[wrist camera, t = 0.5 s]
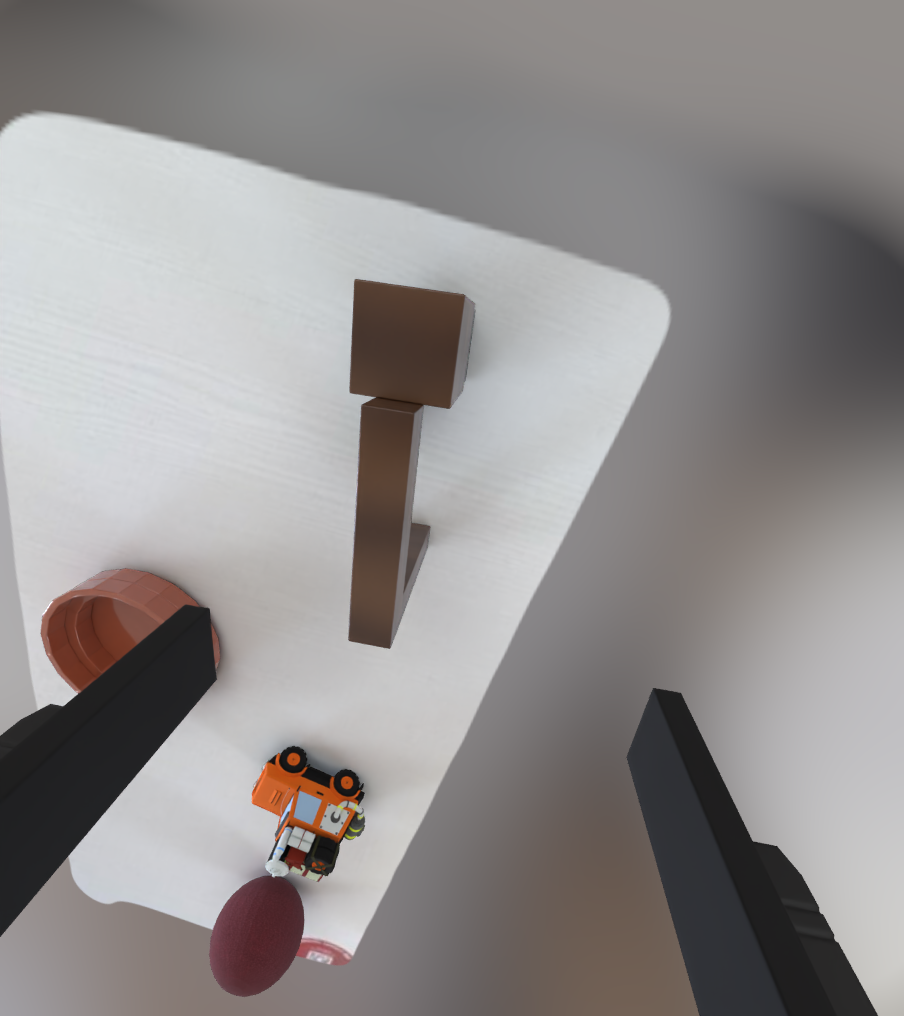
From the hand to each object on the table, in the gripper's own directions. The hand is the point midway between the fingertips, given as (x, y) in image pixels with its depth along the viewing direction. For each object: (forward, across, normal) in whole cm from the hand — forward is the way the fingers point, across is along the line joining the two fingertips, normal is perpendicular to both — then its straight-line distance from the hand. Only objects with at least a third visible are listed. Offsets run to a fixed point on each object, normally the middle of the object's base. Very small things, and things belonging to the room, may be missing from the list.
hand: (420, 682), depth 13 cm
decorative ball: (+22, -16, -57) cm, 63 cm away
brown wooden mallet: (+21, -4, +2) cm, 22 cm away
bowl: (+21, -28, -20) cm, 41 cm away
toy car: (+22, -11, -36) cm, 44 cm away
